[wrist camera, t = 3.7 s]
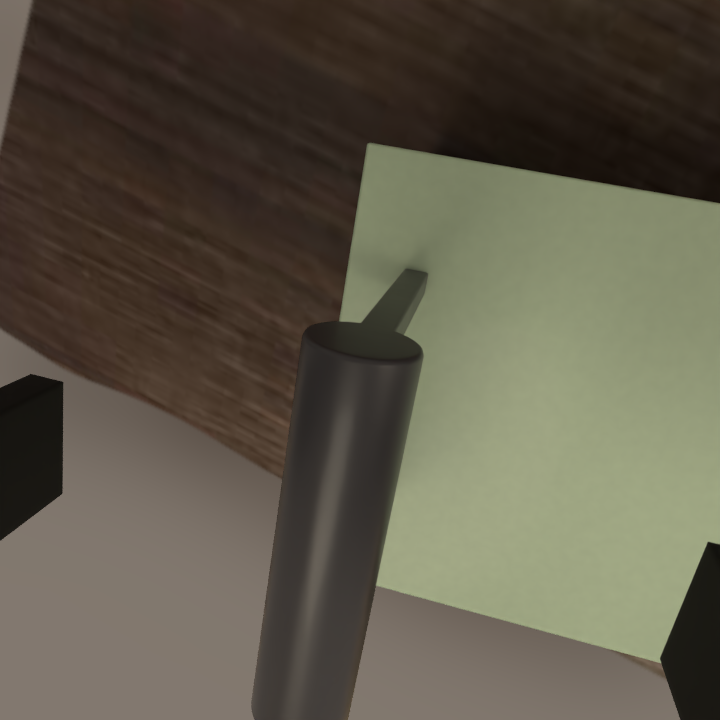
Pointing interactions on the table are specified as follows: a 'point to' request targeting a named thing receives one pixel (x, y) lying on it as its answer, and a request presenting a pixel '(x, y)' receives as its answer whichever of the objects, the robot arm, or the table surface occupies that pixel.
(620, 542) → the hinged green cover
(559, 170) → the table surface
